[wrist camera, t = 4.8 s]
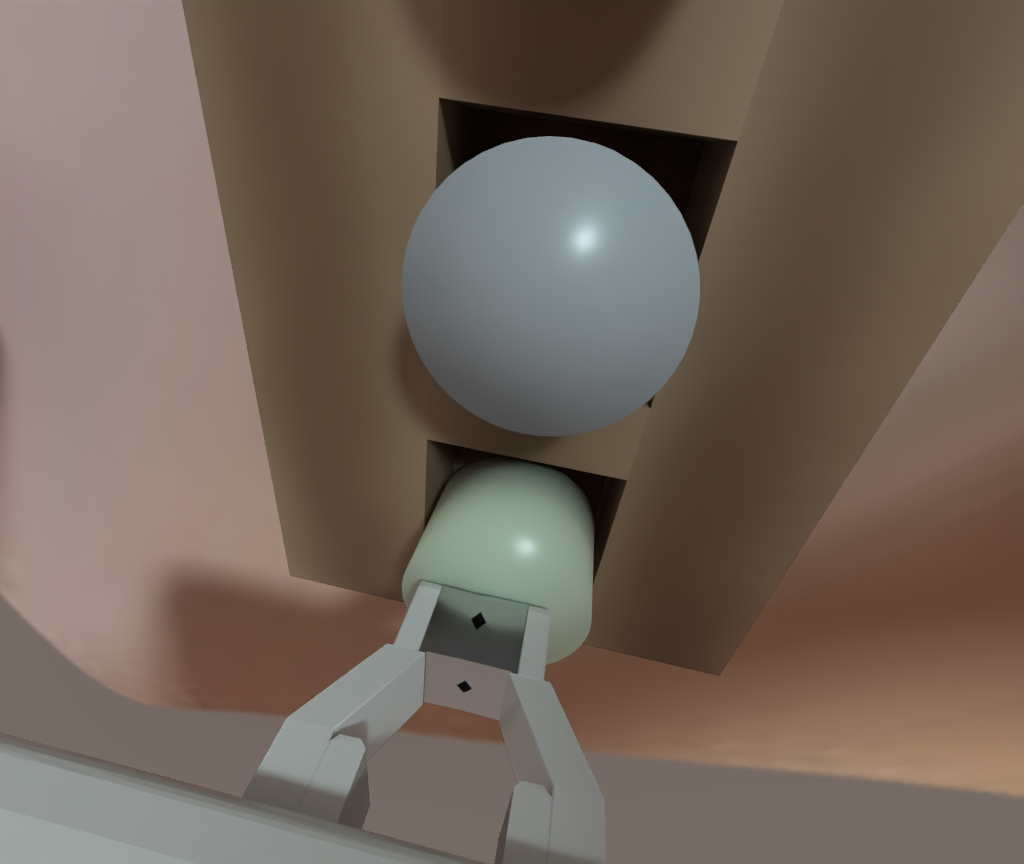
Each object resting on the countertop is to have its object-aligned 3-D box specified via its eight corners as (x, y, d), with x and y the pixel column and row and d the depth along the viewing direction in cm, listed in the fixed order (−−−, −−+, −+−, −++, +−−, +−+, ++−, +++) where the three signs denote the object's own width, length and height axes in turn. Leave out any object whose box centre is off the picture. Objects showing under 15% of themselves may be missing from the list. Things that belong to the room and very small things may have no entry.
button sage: (611, 475, 12) (613, 564, 9) (577, 589, 14) (570, 684, 12) (444, 441, 12) (401, 517, 10) (437, 558, 15) (401, 643, 12)
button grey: (707, 158, 8) (751, 164, 6) (639, 383, 11) (649, 459, 8) (462, 122, 9) (401, 111, 6) (449, 348, 11) (401, 409, 8)
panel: (1376, -689, 5) (2097, -1473, 3) (702, 596, 17) (719, 675, 14) (209, -698, 6) (-55, -1259, 4) (334, 515, 18) (289, 575, 16)
